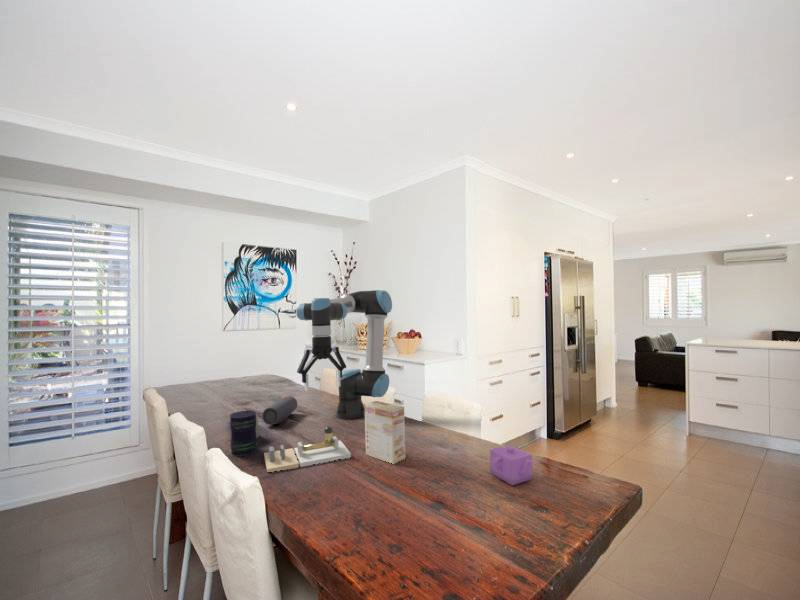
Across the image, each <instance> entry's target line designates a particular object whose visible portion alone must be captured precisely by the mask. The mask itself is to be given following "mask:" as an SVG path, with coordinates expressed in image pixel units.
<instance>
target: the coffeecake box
mask: <svg viewBox="0 0 800 600" xmlns="http://www.w3.org/2000/svg"><path fill="white" fill-rule="evenodd" d="M364 408H365V415H364V434H365V436H364V437H365V455H366V456H368V457H369V456H370V457H372V458H375V459H378V460H381V461H383V462H385V461H386V463H388V462H389V463H388V464H391V463H392V464H391V465H396V464H397V463H399V461H400V462H401V460H402V461H404V460H406V459H405V458H406V433H405V432H406V431H405V430H406V428H405V406H403V405H398V404H397V405H396V404H393V403H389V402H383V401H379V400H375V401H372V402H369V403H365V404H364ZM403 459H404V460H403Z"/></svg>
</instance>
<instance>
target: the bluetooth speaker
mask: <svg viewBox="0 0 800 600" xmlns="http://www.w3.org/2000/svg"><path fill="white" fill-rule="evenodd" d="M297 407H298V402H297V399H296V398H295V397H294V396H292V395H289V396H285V397H282V398H281V399H279V400H277V401H275V402H274V403H272V404H270V405H269V406H268V407H266V408H265V409H264V410H263V412H262V415H261V417H262V421H263V422H264V423H265V425H269V426H273V425H276V424H280V422H281V421H282V422H284V421H285V420H287V419H288V417H289V416H290V415H291V414H292V413H293V412H294V411H295V410H296V409H297ZM284 419H285V420H284ZM283 420H284V421H283ZM282 422H281V423H282Z"/></svg>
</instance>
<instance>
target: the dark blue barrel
mask: <svg viewBox="0 0 800 600" xmlns="http://www.w3.org/2000/svg"><path fill="white" fill-rule="evenodd" d="M256 414H257V412H256V411H255V410H241V411H236V412H233V413H230V415H229V418H230V419H229V425H230V427H229V429H230V432H231V433H230V436H231V438H230V450H231V451H230V454H231V455H232V456H236V457H241V456H243V455H244V456H248V455H251V454H254V453H256V451H257V450H258V438H257V436H256ZM253 452H254V453H253Z"/></svg>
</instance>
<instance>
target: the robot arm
mask: <svg viewBox="0 0 800 600" xmlns="http://www.w3.org/2000/svg"><path fill="white" fill-rule="evenodd" d="M391 297H392V296H391V295H390V293H389V292H388V291H387V290H384V289H383V290H380V289H378V290H376V289H375V290H374V289H373V290H358V291H354V292H352V293H346V294H344V295H342V296H341V297H336V298H331V299H330V298H327V297H317V298H313V299H312V300H311V302H310V303H306V302H305V303H300V304H298V305H297V307H296V310H295V312H296V317H297V318H298V320H299V321H311V335H312V336H313V337H311V342H312V343H311V345H312V349H307V348H305V349H304V352H303V353H304V354H303V357H302V359H301V361H300V364H299V365H298V368H297V370H296V373H297V374H300V375H301V382H302V383H303V384H304V385H303V386H304V391H305V392H309V391H310V386H309V374H308V372H310V370H311V368H312V367H313V365H314V364H315V363H316V361H318V360H319V361H320V360H327V359H328V360H329V361H330V362H331V363H332V364H333V366H335V368H336V369H335V385H336V387H338V403H337V407H336V410H335V417H336V418H338V419H343V420H351V419H352V420H353V419H358V418H361V417H363V416H364V417H365V404H364V403H363V400H362V397H371V398H382V397H384V396H385V395H386V394H387V392H388V389H389V386H390V376H389V374H387V373H386V369H385V368H384V367H383V365H384V363H383V360H384V358H383V357H384V356H383V355H384V337H385V336H384V335H385V334H384V333H385V320H386V319H387V318H388V314H389V313H391V312H392V309H393V301H392V298H391ZM349 313H357V314H359V313H360V314H364V317H365V318H366V319H367V324H366V326H367V327H366V328H367V331H366V345H365V346H366V349H365V350H366V352H365V366H364V367H363V368H362V371H361V369H360V368H354V369H348V370H347V369H346V368H347V365H346V362H345V361H344V359H343V357H342V354H341V353H340V349H339V346H335V345H334V346H333V347H332V337H331V335H332V329H331V327H332V325H331V321H340V320H344V319H345V318H346V317H347V315H348V314H349ZM332 352H333V353H334V355H335V357H336V359H337V360H336V359H335V358H334V357H333V355H332ZM311 354H312V356H311V358H310V355H311ZM309 358H310V359H309ZM308 359H309V361H308ZM344 369H346V370H344Z"/></svg>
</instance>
